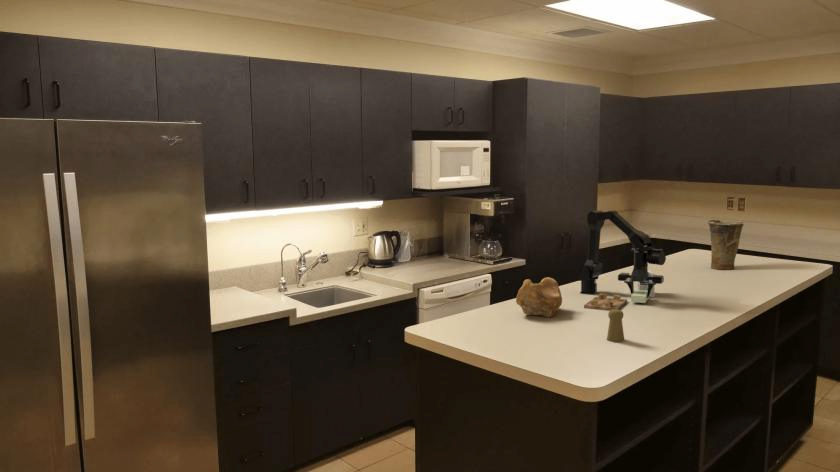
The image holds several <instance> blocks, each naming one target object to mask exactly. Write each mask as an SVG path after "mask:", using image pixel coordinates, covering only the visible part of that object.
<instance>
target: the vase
mask: <svg viewBox="0 0 840 472" xmlns="http://www.w3.org/2000/svg"><path fill="white" fill-rule="evenodd" d="M707 224H708V225H709V232H710V246H711V248H710V249H711V260H710V261H711V263H710V269H713V270H719V271H733V270H734V269H735V262H736V261H735V260H736V257H737V253H738V250H739V245H740V239H741V234H742V231H743V227H744V226H745V223H744V221H739V220H738V221H721V220H719V219H717V220H716V219H710V220H707Z"/></svg>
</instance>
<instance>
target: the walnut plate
mask: <svg viewBox="0 0 840 472" xmlns="http://www.w3.org/2000/svg"><path fill="white" fill-rule="evenodd" d="M627 303H628V299H625V298H623V299H622V298H621V294H620V295H619V294H613V297H608V294H607V293H600V294H598V296H595V297H594V298H592V299H590V300H589V301H588V302H586V303H585V304H584V305H583V307H584V309H592V310H600V311H601V310H603V311H608V312H609V311H610V310H614V309H617V310H621V308H622V307H623V306H625V305H626V304H627Z"/></svg>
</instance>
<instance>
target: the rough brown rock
mask: <svg viewBox="0 0 840 472" xmlns="http://www.w3.org/2000/svg"><path fill="white" fill-rule="evenodd" d="M515 301H516V302H515V303H516V305H518V306H519V307H521V309H522V312H523V314H524V315H525V314H527V315H526V316H530V315H531V316H532V315H533V316H540V315H541V316H543V317H546V318H549V317H550V318H552V317H553V316H555V314H556V313H557V311H558V309H559V308H560V307H561V306H562V304H563V297H562V293H561V288H560V286H559V284H558V281H556V279H554V278H552V277H549V276H547V277H544V278H542V279H541V281H540V282H539V283H533V282H532V280H531V279H529V278H528V279H525V280H523V283H522V286H521V287H520V288H519V289H518V291H517V295H516V298H515ZM550 318H549V319H550Z"/></svg>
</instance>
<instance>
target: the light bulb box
mask: <svg viewBox="0 0 840 472" xmlns="http://www.w3.org/2000/svg"><path fill="white" fill-rule="evenodd" d="M648 275H649V277H653V276H654V275H655V274H654V273H653V271H652V270H648ZM648 283H649V281H646V280H643V282H636V290H646V291H648ZM649 298H655V285H654V286H653V288H652V290H651V292H650V295H649Z"/></svg>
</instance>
